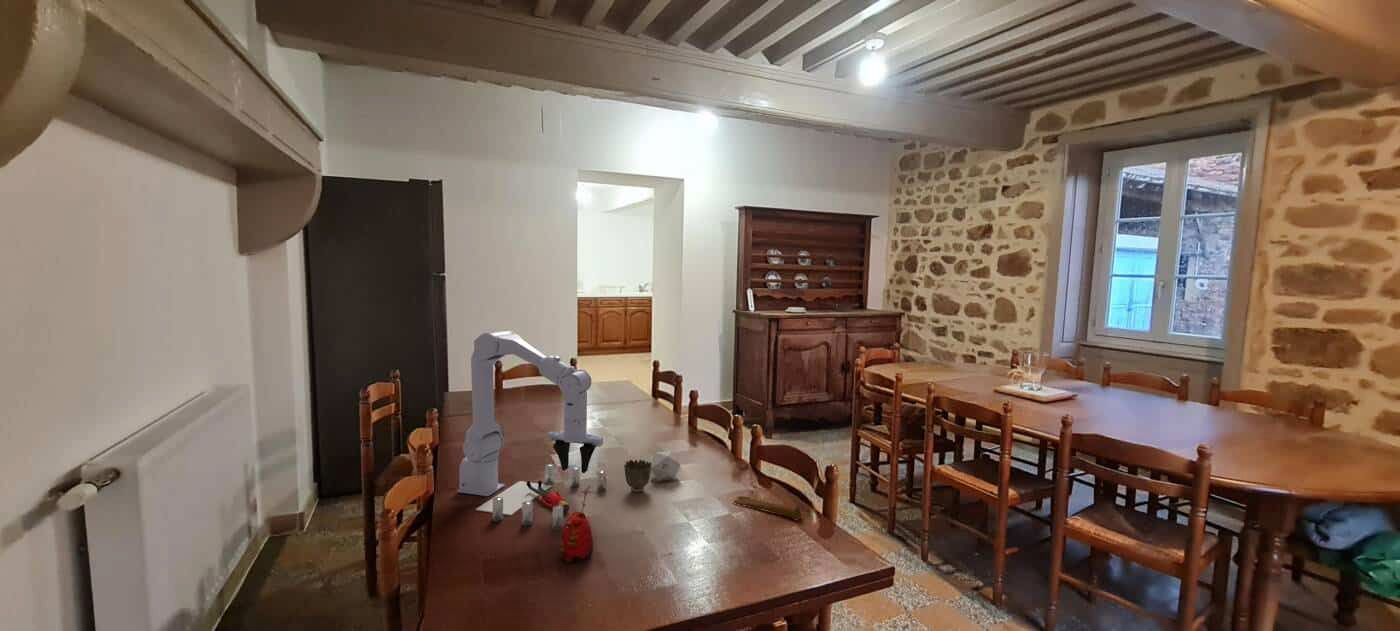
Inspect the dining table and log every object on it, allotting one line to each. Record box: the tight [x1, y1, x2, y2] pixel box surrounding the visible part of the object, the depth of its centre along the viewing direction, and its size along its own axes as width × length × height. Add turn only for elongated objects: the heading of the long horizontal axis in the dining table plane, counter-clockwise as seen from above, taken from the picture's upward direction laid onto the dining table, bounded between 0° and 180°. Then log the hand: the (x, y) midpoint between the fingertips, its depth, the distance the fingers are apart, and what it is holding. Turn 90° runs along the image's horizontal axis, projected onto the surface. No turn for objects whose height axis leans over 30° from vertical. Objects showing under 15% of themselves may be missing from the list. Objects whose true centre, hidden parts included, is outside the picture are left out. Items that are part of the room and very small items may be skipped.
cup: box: [623, 459, 652, 494], centre depth 158 cm, size 8×7×8 cm
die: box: [650, 450, 682, 482], centre depth 169 cm, size 8×9×10 cm
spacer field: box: [492, 463, 607, 531], centre depth 149 cm, size 18×27×5 cm
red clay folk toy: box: [559, 485, 594, 564], centre depth 122 cm, size 8×7×15 cm
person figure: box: [526, 480, 570, 514], centre depth 149 cm, size 5×4×18 cm
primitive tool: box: [733, 495, 802, 520], centre depth 150 cm, size 19×6×4 cm, turn 56°
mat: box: [475, 480, 552, 517], centre depth 152 cm, size 10×20×1 cm, turn 166°
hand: (574, 470), depth 147 cm, fingers open, 5 cm apart
